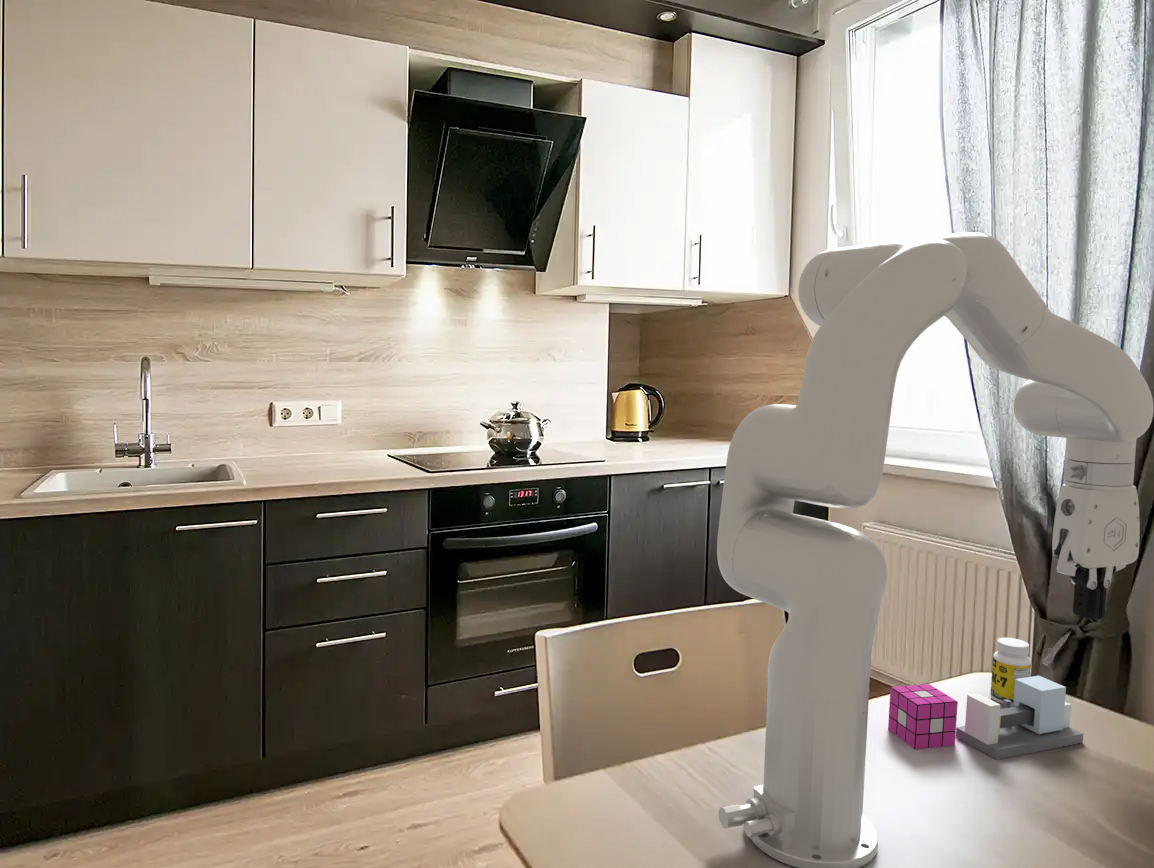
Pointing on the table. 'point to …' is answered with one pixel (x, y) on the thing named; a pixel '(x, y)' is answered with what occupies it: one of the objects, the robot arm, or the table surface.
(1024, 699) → the sleeve
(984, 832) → the table surface
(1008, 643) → the supplement bottle
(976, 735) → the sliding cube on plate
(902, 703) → the puzzle toy
